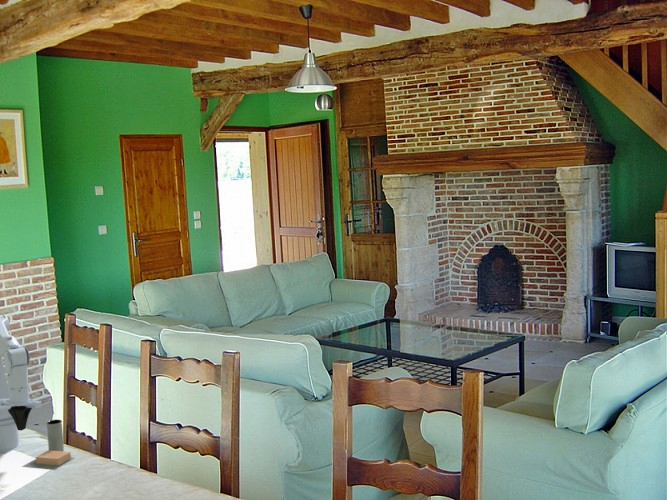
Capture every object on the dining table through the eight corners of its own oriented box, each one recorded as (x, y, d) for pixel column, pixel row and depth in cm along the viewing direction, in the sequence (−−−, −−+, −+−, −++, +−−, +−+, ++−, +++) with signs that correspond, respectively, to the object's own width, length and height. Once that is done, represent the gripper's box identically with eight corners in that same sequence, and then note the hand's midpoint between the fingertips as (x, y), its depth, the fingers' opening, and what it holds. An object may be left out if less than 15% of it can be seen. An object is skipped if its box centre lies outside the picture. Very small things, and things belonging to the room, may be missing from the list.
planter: (48, 451, 240) (46, 420, 239) (63, 449, 242) (61, 418, 241) (49, 456, 236) (47, 424, 235) (64, 453, 238) (62, 422, 237)
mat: (22, 467, 227) (21, 466, 227) (43, 456, 237) (43, 454, 237) (55, 471, 224) (55, 469, 223) (75, 459, 233) (75, 457, 233)
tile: (35, 456, 228) (57, 459, 226) (48, 450, 234) (70, 452, 232) (36, 464, 228) (58, 466, 226) (49, 457, 234) (70, 459, 232)
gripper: (-11, 389, 228) (-7, 432, 230) (29, 391, 224) (32, 435, 225) (6, 382, 235) (9, 424, 236) (44, 385, 231) (47, 427, 232)
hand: (21, 429), depth 231 cm, fingers closed
